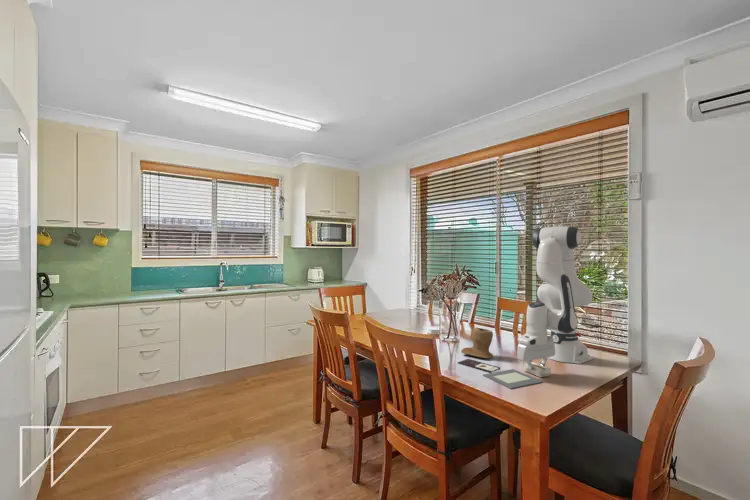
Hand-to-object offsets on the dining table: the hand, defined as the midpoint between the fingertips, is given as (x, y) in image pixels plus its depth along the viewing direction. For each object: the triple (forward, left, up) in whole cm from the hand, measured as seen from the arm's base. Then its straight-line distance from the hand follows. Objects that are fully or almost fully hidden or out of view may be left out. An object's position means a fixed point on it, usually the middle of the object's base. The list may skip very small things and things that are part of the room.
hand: (536, 367), depth 166 cm
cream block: (0, 0, -2) cm, 2 cm away
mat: (+15, 0, -3) cm, 16 cm away
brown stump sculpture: (+6, -33, -3) cm, 33 cm away
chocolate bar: (+17, -20, -3) cm, 26 cm away
